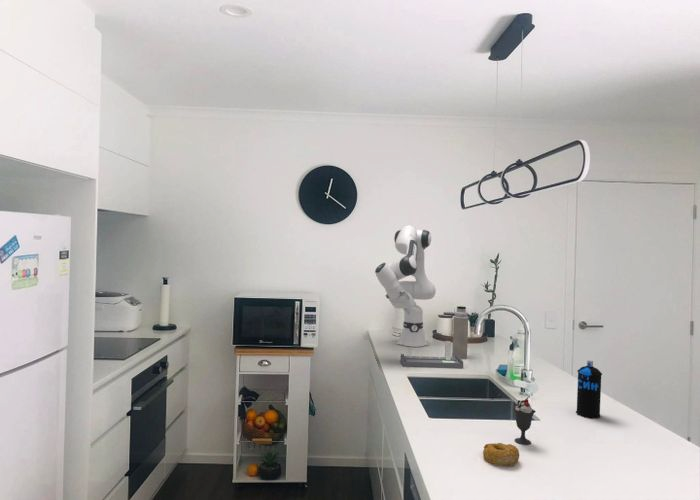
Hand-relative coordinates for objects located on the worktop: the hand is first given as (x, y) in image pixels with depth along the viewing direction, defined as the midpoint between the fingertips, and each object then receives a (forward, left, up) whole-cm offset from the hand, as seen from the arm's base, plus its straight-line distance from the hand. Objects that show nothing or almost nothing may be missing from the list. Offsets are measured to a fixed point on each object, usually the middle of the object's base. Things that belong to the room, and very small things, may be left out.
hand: (410, 314), depth 249 cm
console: (+3, +11, -25) cm, 28 cm away
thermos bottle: (-16, +30, -25) cm, 42 cm away
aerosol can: (+72, +57, -25) cm, 96 cm away
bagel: (+113, +12, -26) cm, 116 cm away
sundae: (+99, +23, -25) cm, 105 cm away
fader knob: (+3, +19, -22) cm, 30 cm away
